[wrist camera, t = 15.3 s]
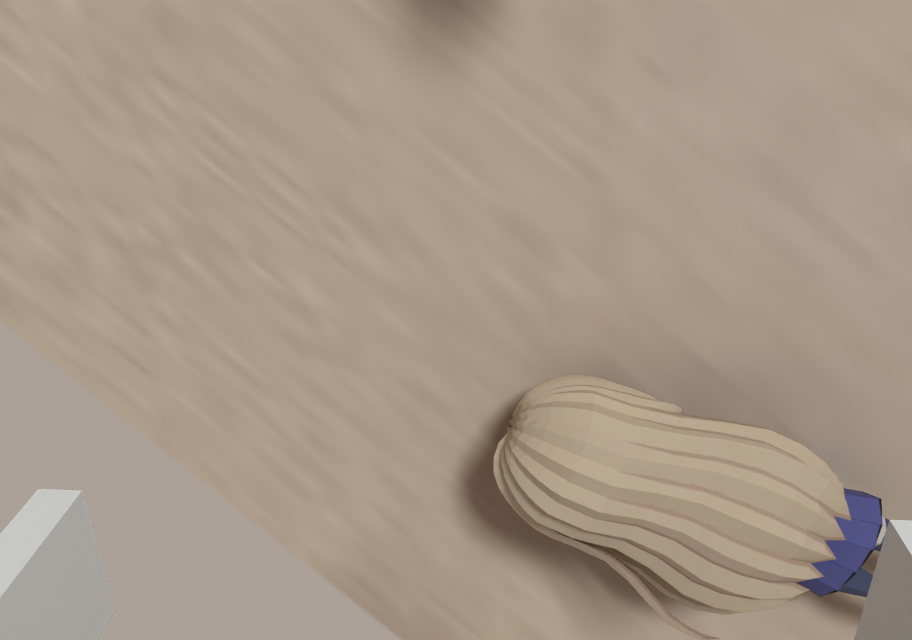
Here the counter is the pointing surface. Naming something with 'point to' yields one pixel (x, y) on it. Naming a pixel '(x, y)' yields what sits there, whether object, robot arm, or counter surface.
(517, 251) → the counter surface
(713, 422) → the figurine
